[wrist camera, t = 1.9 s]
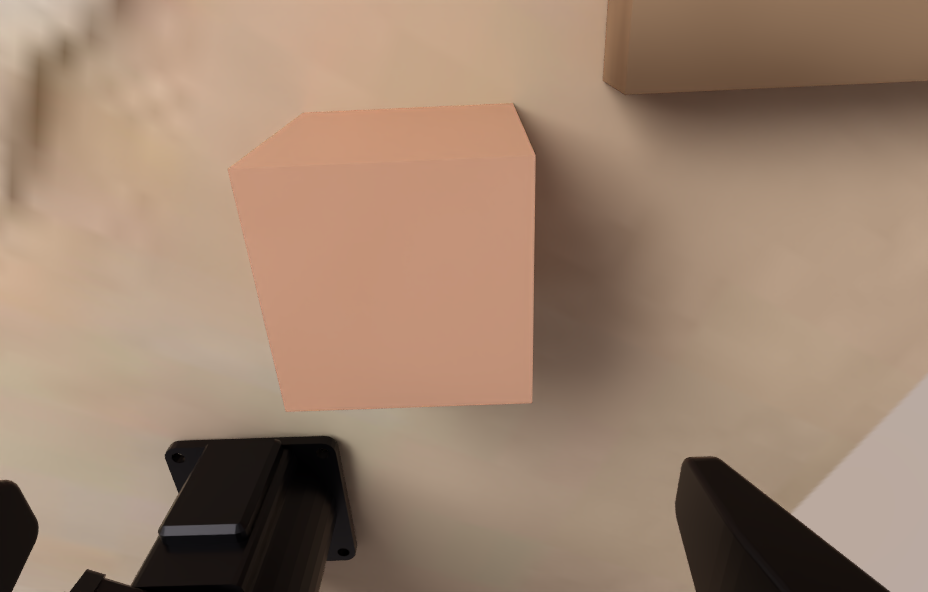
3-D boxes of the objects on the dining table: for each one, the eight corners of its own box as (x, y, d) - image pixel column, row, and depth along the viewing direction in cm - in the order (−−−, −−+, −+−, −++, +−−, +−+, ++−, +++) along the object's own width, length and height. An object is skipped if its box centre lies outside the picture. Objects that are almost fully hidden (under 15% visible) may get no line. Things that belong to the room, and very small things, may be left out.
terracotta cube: (513, 289, 19) (531, 403, 14) (335, 296, 19) (286, 411, 14) (512, 102, 16) (535, 155, 11) (304, 112, 17) (227, 168, 11)
